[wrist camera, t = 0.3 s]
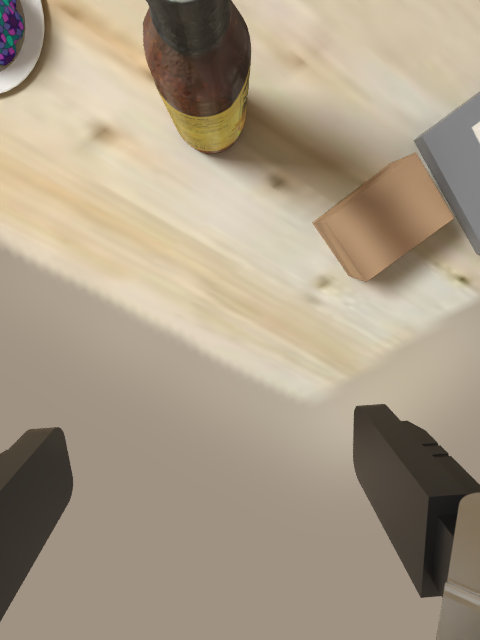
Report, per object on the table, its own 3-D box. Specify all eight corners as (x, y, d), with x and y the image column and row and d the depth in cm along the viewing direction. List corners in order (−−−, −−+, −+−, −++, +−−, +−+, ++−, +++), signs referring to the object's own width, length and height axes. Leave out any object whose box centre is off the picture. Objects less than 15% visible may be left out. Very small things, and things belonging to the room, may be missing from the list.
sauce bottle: (255, 137, 33) (297, 6, 14) (194, 168, 34) (154, 82, 14) (224, 63, 32) (223, -196, 13) (161, 96, 32) (66, -105, 13)
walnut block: (389, 163, 35) (415, 152, 30) (423, 220, 36) (454, 218, 31) (312, 222, 36) (325, 221, 31) (347, 275, 37) (366, 281, 32)
